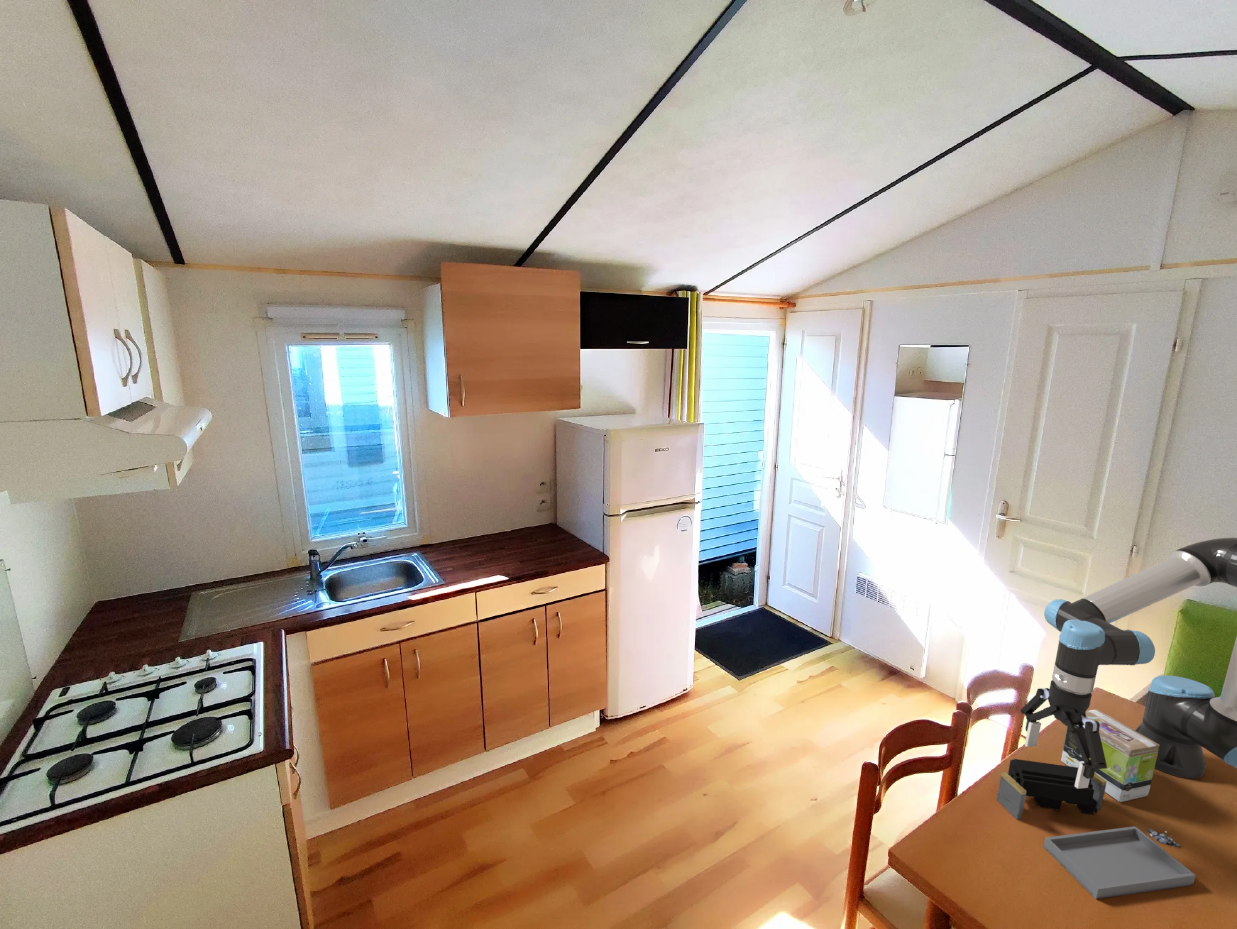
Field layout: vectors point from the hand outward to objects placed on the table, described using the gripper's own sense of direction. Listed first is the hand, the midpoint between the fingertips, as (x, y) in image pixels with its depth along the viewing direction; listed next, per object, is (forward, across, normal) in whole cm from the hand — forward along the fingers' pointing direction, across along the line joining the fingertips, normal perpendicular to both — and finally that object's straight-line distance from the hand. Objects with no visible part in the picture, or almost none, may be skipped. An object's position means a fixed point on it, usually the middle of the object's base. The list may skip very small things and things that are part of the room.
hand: (1054, 765), depth 135 cm
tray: (+11, +16, 0) cm, 20 cm away
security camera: (+11, 0, +1) cm, 11 cm away
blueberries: (+12, +12, +19) cm, 25 cm away
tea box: (+11, -6, +22) cm, 26 cm away
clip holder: (+11, 0, 0) cm, 11 cm away
